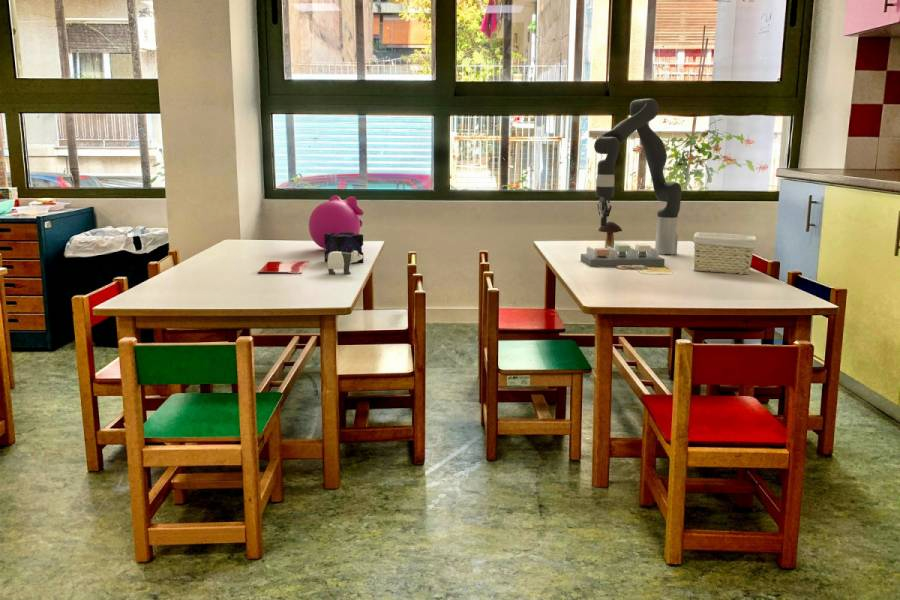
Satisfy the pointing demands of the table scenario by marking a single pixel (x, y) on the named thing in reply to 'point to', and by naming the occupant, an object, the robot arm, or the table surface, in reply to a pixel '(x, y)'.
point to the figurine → (334, 218)
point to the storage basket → (723, 252)
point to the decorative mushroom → (610, 233)
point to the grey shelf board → (622, 258)
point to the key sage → (622, 249)
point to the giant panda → (342, 260)
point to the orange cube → (602, 252)
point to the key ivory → (642, 249)
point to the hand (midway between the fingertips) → (603, 226)
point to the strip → (631, 267)
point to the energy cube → (343, 243)
